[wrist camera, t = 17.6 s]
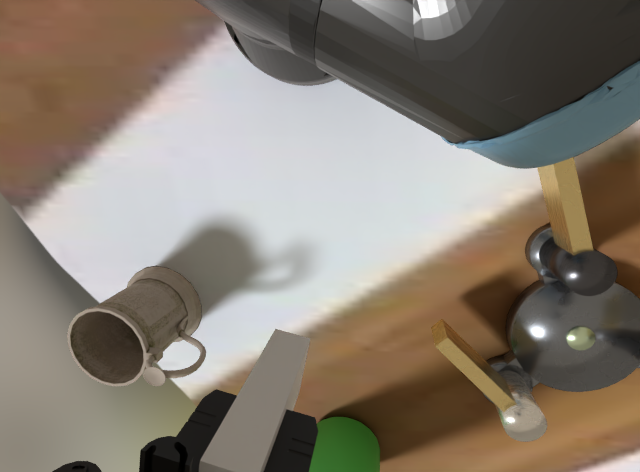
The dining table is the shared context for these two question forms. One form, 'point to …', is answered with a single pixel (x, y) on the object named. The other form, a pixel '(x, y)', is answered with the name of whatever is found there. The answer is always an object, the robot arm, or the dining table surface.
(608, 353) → the tribrach plate
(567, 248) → the black and tan lever
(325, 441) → the bottle
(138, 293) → the mug
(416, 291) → the dining table surface
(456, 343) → the lever
